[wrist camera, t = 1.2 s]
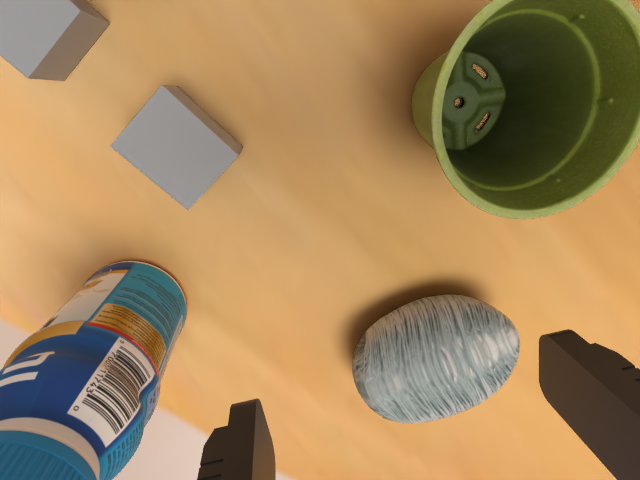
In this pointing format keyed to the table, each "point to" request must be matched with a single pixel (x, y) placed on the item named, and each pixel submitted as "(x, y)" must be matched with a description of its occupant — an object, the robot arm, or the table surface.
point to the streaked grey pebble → (434, 358)
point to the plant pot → (535, 103)
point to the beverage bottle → (90, 377)
